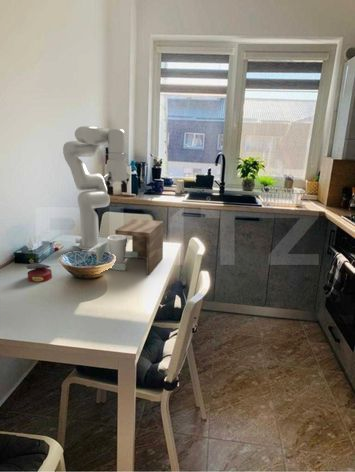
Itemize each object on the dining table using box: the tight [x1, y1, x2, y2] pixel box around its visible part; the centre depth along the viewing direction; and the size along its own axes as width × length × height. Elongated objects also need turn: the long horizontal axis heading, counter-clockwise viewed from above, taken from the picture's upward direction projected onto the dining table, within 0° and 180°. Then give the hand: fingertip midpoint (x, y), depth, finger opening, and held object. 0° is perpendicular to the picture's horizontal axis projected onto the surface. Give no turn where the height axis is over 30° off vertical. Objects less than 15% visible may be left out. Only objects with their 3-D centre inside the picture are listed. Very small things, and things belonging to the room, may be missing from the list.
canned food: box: [25, 262, 53, 283], centre depth 156 cm, size 11×10×10 cm
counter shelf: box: [114, 218, 164, 276], centre depth 173 cm, size 16×24×20 cm, turn 168°
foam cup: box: [106, 234, 128, 264], centre depth 177 cm, size 10×9×13 cm
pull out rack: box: [86, 240, 139, 271], centre depth 177 cm, size 20×20×10 cm
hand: (117, 193), depth 170 cm, fingers open, 9 cm apart
